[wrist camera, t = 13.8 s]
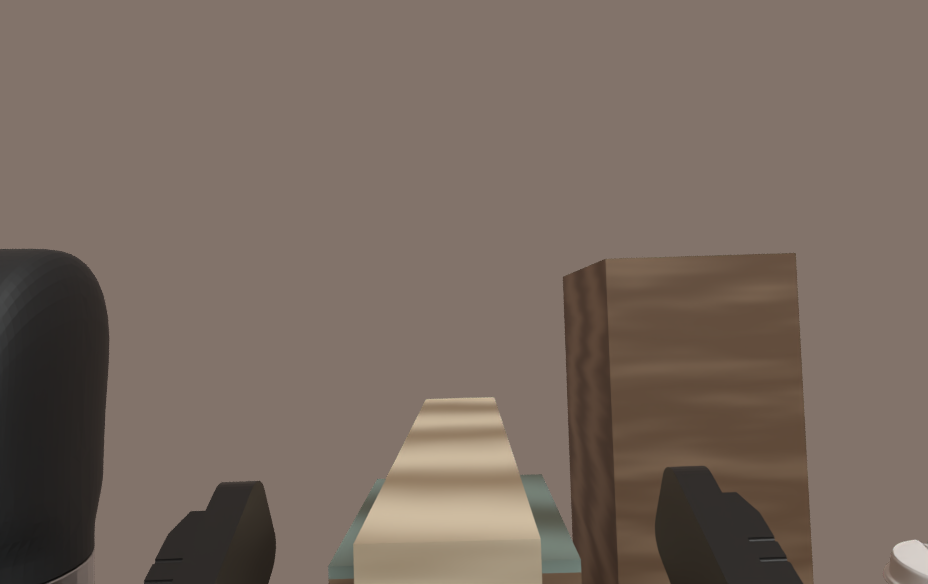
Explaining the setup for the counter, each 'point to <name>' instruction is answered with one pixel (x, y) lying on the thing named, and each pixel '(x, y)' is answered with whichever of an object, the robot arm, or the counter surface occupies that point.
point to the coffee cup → (908, 564)
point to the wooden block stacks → (669, 410)
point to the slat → (451, 505)
